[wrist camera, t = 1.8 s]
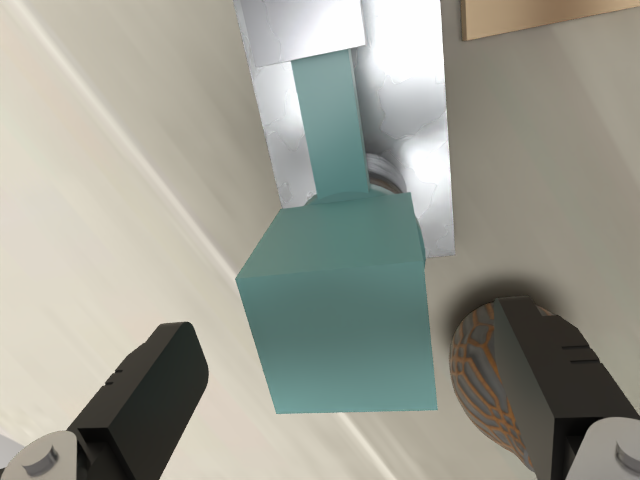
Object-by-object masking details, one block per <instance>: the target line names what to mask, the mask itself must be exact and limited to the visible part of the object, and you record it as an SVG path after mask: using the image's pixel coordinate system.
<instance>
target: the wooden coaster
mask: <svg viewBox="0 0 640 480" xmlns="http://www.w3.org/2000/svg"><path fill="white" fill-rule="evenodd" d="M637 6H640V0H461V22H462V41H467V40H472V39H477V38H482V37H487V36H492V35H497V34H502V33H507V32H512V31H517V30H522V29H527V28H532V27H537V26H542V25H547V24H552V23H557V22H562V21H567V20H572V19H577V18H582V17H587V16H592V15H597V14H602V13H607V12H612V11H617V10H622V9H627V8H632V7H637Z"/></svg>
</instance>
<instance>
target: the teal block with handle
mask: <svg viewBox="0 0 640 480" xmlns="http://www.w3.org/2000/svg"><path fill="white" fill-rule="evenodd" d="M291 65H292V70H293V76H294V81H295V86H296V91H297V96H298V101H299V106H300V111H301V116H302V121H303V126H304V131H305V136H306V142H307V147H308V152H309V157H310V162H311V167H312V172H313V177H314V182H315V187H316V192H317V194H315V195H314V196H313V197H311V198H310V199H309V200H308V201H307V202H306V203H305V205H304V206H300V207H293V208H285V209H280V211H279V213H278V214H277V216H276V217H275V219H274V220H273V222H272V223H271V225H270V226H269V228H268V229H267V231H266V232H265V234H264V236H263V237H262V239H261V240H260V242H259V243H258V245H257V246H256V248H255V249H254V251H253V252H252V254H251V255H250V257H249V258H248V260H247V262H246V263H245V265H244V266H243V268H242V269H241V271H240V272H239V274H238V275H237V277H236V278H235V280H236V283H237V286H238V289H239V293H240V296H241V299H242V303H243V306H244V309H245V312H246V316H247V319H248V322H249V325H250V329H251V332H252V335H253V338H254V342H255V345H256V348H257V352H258V355H259V358H260V361H261V365H262V368H263V371H264V374H265V378H266V381H267V384H268V388H269V391H270V394H271V397H272V401H273V404H274V407H275V410H276V414H291V413H334V412H378V411H421V410H438V409H437V399H436V388H435V378H434V367H433V357H432V346H431V336H430V326H429V315H428V305H427V294H426V284H425V273H424V268H425V261H426V256H425V246H424V241H423V236H422V231H421V228H420V225H419V222H418V220H417V218H416V216H415V213H414V207H413V202H412V196H411V192H407V193H400V194H394V193H393V192H391V191H389V190H387V189H385V188H383V187H381V186H377V185H374V184H370V181H369V174H368V167H367V160H366V153H365V146H364V139H363V132H362V125H361V118H360V111H359V104H358V97H357V90H356V83H355V76H354V69H353V62H352V55H351V49H346V50H342V51H337V52H332V53H327V54H322V55H318V56H313V57H308V58H303V59H298V60H293V61H291Z"/></svg>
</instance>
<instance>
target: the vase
mask: <svg viewBox="0 0 640 480" xmlns="http://www.w3.org/2000/svg"><path fill="white" fill-rule="evenodd" d="M536 306H537V305H536ZM537 308H538V310H539V311H540V313H541V315H542V316H551V315H554V314H552V313H551V312H549V311H547V310H546V309H544V308H542V307H539V306H537ZM449 367H450V375H451V380H452V384H453V388H454V391H455V394H456V396H457V398H458V400H459V402H460V404H461V406H462V408H463V409H464V411H465V413H466V414H467V416H468V417H469V418H470V420H471V421H472V422H473V424H474V425H475V426H476V427H477V428H478V429H479V430H480V431H481V432H482V433H483V434H485V435H486V436H487V437H488V438H490V439H491V440H492V441H494V442H495V443H497V444H499V445H500V446H502V447H503V448H505V449H507V450H508V451H510V452H512V453H514V454H515V455H516V456H517V457H518V458H519V459H520V460H521V461H522V462H523V463H524V465H525V466H526V467H527V468H529V469H530V470H531V471H533V472H535V471H534V468H533V466H532V463H531V460H530V458H529V455H528V452H527V449H526V447H525V444H524V441H523V438H522V436H521V433H520V430H519V428H518V425H517V422H516V419H515V417H514V414H513V411H512V409H511V406H510V403H509V400H508V398H507V395H506V392H505V389H504V387H503V384H502V381H501V379H500V376H499V373H498V369H497V364H496V358H495V346H494V302H491V303H488V304H485V305H483V306H481V307H479V308H477V309H476V310H474V311H473V312H471V313H470V314H469V315H467V316H466V317H465V318H464V319H463V320H462V322H461V323H460V325H459V326H458V328H457V330H456V332H455V334H454V336H453V339H452V343H451V347H450V354H449Z"/></svg>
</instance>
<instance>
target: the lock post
mask: <svg viewBox="0 0 640 480" xmlns="http://www.w3.org/2000/svg"><path fill="white" fill-rule="evenodd" d="M233 2H234V7H235V11H236V15H237V19H238V24H239V28H240V32H241V36H242V41H243V45H244V49H245V53H246V58H247V62H248V66H249V70H250V75H251V79H252V83H253V87H254V92H255V96H256V100H257V104H258V109H259V113H260V117H261V121H262V126H263V130H264V134H265V138H266V143H267V147H268V151H269V155H270V159H271V164H272V168H273V172H274V176H275V181H276V185H277V189H278V193H279V198H280V202H281V206H282V209H285V208H293V207H300V206H304V205H305V203H306V202H307V201H308V200H309V199H310V198H311V197H313V196H314V195H315V194H317V192H316V187H315V182H314V177H313V172H312V167H311V162H310V157H309V152H308V147H307V142H306V136H305V131H304V126H303V121H302V116H301V111H300V106H299V101H298V96H297V91H296V86H295V81H294V76H293V70H292V65H291V61H293V60H298V59H303V58H308V57H313V56H318V55H322V54H327V53H332V52H337V51H342V50H346V49H351V55H352V62H353V69H354V76H355V83H356V90H357V97H358V104H359V111H360V118H361V125H362V132H363V139H364V146H365V153H366V160H367V167H368V174H369V181H370V184H374V185H377V186H381V187H383V188H385V189H387V190H389V191H391V192H393V193H394V194H400V193H407V192H411V196H412V202H413V207H414V213H415V216H416V218H417V220H418V222H419V225H420V228H421V231H422V236H423V241H424V246H425V256H426V258H430V257H440V256H451V255H455V240H454V224H453V207H452V191H451V174H450V158H449V141H448V125H447V108H446V92H445V75H444V59H443V42H442V26H441V9H440V0H233Z"/></svg>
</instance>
